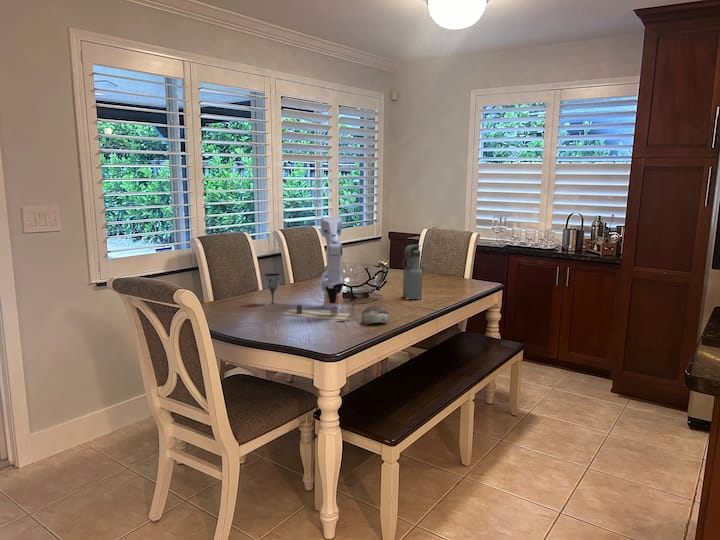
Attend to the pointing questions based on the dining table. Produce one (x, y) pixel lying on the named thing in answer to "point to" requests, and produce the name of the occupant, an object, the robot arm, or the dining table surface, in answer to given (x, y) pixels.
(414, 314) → the dining table surface
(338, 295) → the collar
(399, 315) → the dining table surface
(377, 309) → the grey rounded lump
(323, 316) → the board
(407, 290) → the water bottle
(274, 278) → the wine glass
